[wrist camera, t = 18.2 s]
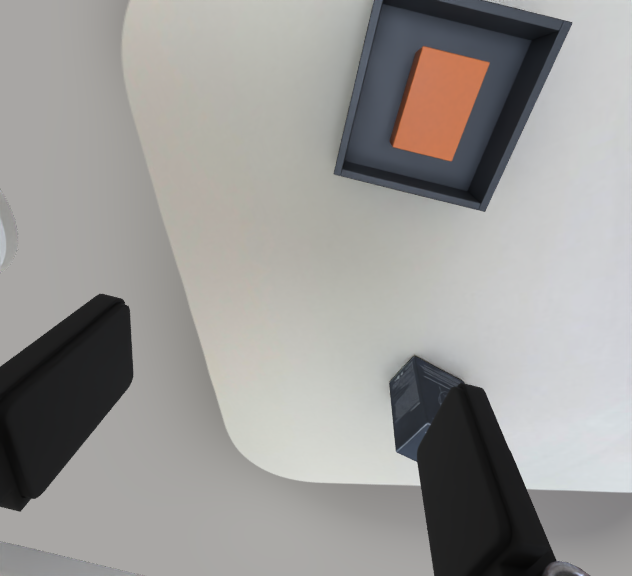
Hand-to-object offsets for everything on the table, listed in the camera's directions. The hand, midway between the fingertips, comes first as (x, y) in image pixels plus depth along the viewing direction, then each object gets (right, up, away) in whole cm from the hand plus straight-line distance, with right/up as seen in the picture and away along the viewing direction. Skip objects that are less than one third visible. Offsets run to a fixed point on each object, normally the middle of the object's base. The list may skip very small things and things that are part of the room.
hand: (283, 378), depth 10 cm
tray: (+11, +19, +21) cm, 30 cm away
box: (+15, -9, +36) cm, 40 cm away
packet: (+11, +18, +20) cm, 29 cm away
